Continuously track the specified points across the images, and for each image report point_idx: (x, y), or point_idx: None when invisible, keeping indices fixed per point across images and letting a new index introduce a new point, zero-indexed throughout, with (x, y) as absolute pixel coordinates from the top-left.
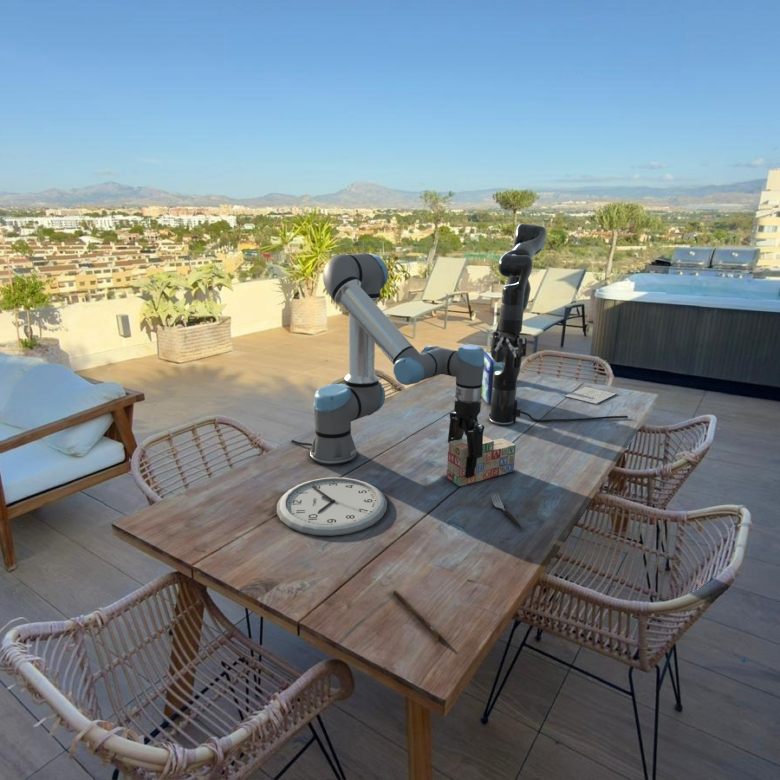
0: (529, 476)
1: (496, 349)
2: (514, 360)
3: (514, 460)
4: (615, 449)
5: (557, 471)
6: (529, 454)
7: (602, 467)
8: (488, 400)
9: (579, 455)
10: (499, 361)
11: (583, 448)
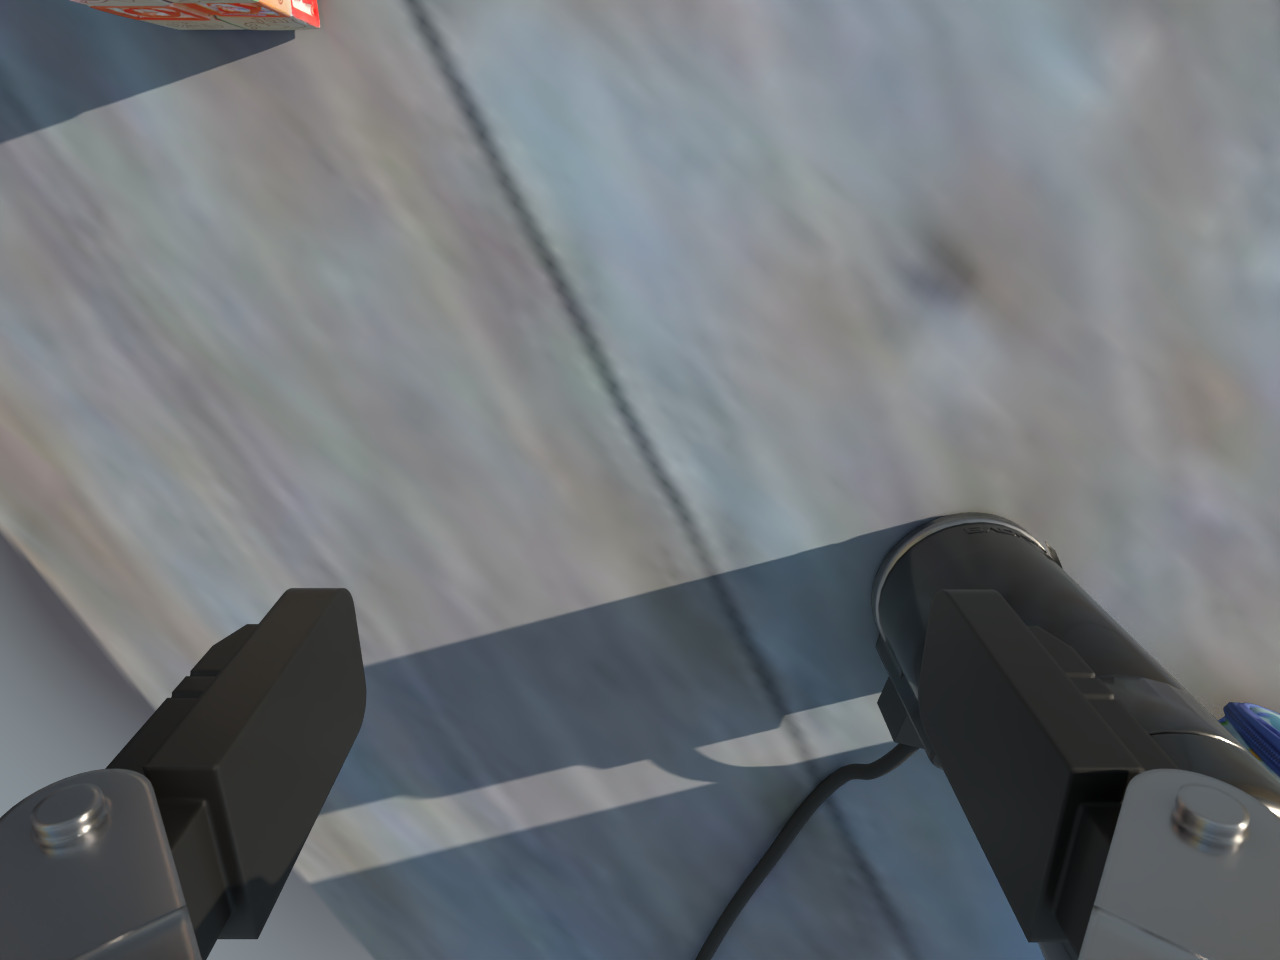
0: (90, 98)
1: (1192, 830)
2: (199, 703)
3: (124, 16)
4: None
5: (113, 338)
6: (405, 365)
7: (95, 615)
8: (1251, 714)
9: None
10: (930, 662)
11: None
